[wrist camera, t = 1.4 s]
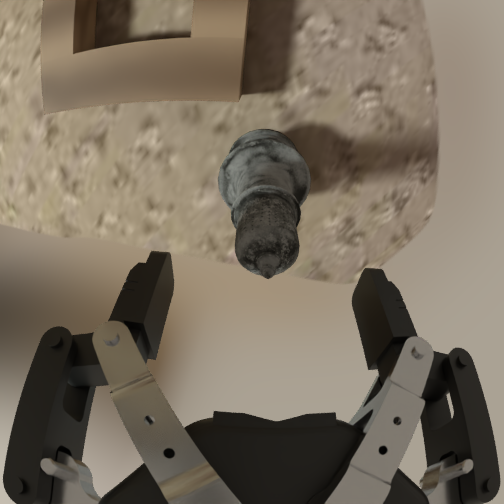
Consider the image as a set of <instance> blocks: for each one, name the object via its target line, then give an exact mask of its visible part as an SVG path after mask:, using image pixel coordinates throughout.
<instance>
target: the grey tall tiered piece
mask: <svg viewBox="0 0 504 504" xmlns="http://www.w3.org/2000/svg"><path fill="white" fill-rule="evenodd" d="M310 182H311V177H310V172H309V168H308V166H307V164H306V162H305V160H304V158H303V157H302V156H301V155H300V154H299V153H298V151H297V149H296V148H295V146H294V144H293V143H292V142H291V141H290V140H289V139H288V138H287V137H286V136H285V135H283V134H281V133H279V132H277V131H273V130H269V129H258V130H254V131H250V132H248V133H246V134H244V135H243V136H241V137H240V138H239V139H238V140H237V141H236V142H235V143H234V144H233V146H232V148H231V150H230V152H229V155H228V156H227V157H226V158H225V160H224V162H223V164H222V166H221V167H220V172H219V177H218V184H219V191H220V193H221V196H222V198H223V200H224V202H225V203H226V204H227V206H228V207H229V208H230V209H231V220H232V222H233V225H234V227H235V228H236V240H235V253H236V256H237V259H238V261H239V263H240V264H241V265H242V266H243V267H244V268H246V269H247V270H249V271H250V272H252V273H254V274H257V275H262V276H263V277H265V278H267V279H269V278H271V277H273V276H274V275H277V274H279V273H282V272H284V271H285V270H287V269H288V268H290V267H291V266H292V265H293V264H294V262H295V261H296V259H297V257H298V253H299V239H298V234H297V228H296V227H297V226H298V223H299V221H300V216H301V210H300V206H301V205H302V204H303V202H304V201H305V200H306V198H307V195H308V193H309V190H310Z"/></svg>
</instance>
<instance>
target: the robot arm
mask: <svg viewBox="0 0 504 504" xmlns="http://www.w3.org/2000/svg"><path fill="white" fill-rule="evenodd" d="M173 290H174V278H173V269H172V261H171V254H170V253H169V252H159V251H151V253H150V255H149V258H148V259H147V262H146V263H138V264H137V265H136V266H134V267H133V268H132V269H131V270H130V272H129V274H128V276H127V279H126V282H125V283H124V285H123V288H122V290H121V292H120V295H119V297H118V299H117V302H116V304H115V306H114V309H113V311H112V314H111V316H110V318H109V320H108V322H105V323H103V324H101V325H100V326H99V327H97V329H96V330H95V332H93V333H88V334H79V335H71V333H70V331H69V330H68V329H66V328H64V327H53V328H51V329H49V330H48V331H47V332H46V333H45V334H44V335H43V337H42V338H41V341H40V343H39V346H38V348H37V351H36V353H35V356H34V359H33V361H32V364H31V367H30V370H29V373H28V375H27V378H26V381H25V384H24V387H23V391H22V394H21V397H20V401H19V404H18V407H17V411H16V415H15V419H14V423H13V427H12V431H11V435H10V440H9V445H8V450H7V455H6V461H5V467H4V474H3V483H4V488H5V490H6V492H7V494H8V496H9V497H10V498H11V499H12V500H13V501H14V502H15V503H16V504H483V503H486V502H489V501H491V500H492V499H493V498H494V497H495V496H496V494H497V493H498V490H499V487H500V472H499V465H498V458H497V452H496V446H495V440H494V435H493V430H492V426H491V421H490V417H489V413H488V409H487V405H486V401H485V398H484V394H483V391H482V387H481V384H480V381H479V378H478V374H477V372H476V368H475V365H474V362H473V360H472V358H471V356H470V354H469V353H468V352H467V351H465V350H464V349H462V348H454V349H453V350H452V351H451V352H450V353H449V354H443V353H439V352H435V351H433V350H432V347H431V345H430V344H429V343H428V342H427V341H426V340H424V339H423V338H420V337H418V336H417V333H416V330H415V328H414V325H413V323H412V320H411V318H410V315H409V313H408V310H407V309H406V305H405V303H404V302H403V298H402V296H401V294H400V291H399V290H398V288H397V287H396V286H395V285H394V284H393V283H392V282H391V281H388V280H387V278H386V276H385V273H384V271H383V270H382V269H374V268H365V269H364V270H363V272H362V274H361V277H360V279H359V281H358V284H357V286H356V288H355V290H354V293H353V296H352V307H353V311H354V314H355V318H356V322H357V325H358V329H359V333H360V337H361V341H362V345H363V349H364V354H365V358H366V361H367V366H368V370H374V369H378V372H379V375H378V376H377V377H376V379H375V381H374V383H373V384H372V386H371V388H370V390H369V392H368V394H367V396H366V398H365V400H364V402H363V403H362V405H361V407H360V408H359V410H358V412H357V413H356V414H355V415H354V417H353V418H352V419H351V421H350V422H349V423H346V422H344V421H341V420H336V413H335V412H334V413H317V414H305V415H301V416H298V417H294V418H290V419H286V420H282V421H272V420H268V419H263V418H260V417H256V416H252V415H249V414H245V413H231V412H218V411H214V414H213V418H207V419H203V420H200V421H197V422H194V423H192V424H190V425H188V426H186V427H185V428H184V427H183V426H182V424H181V422H180V421H179V419H178V418H177V416H176V415H175V413H174V411H173V410H172V408H171V406H170V405H169V403H168V401H167V400H166V398H165V396H164V395H163V393H162V391H161V389H160V388H159V386H158V384H157V382H156V381H155V379H154V377H153V375H152V374H151V373H150V371H149V370H148V367H147V366H146V363H147V359H154V360H156V357H157V353H158V349H159V344H160V341H161V337H162V333H163V329H164V325H165V321H166V318H167V314H168V310H169V306H170V303H171V299H172V296H173ZM104 385H109V387H110V389H111V392H110V395H111V398H112V400H113V402H114V405H115V407H116V409H117V411H118V413H119V415H120V417H121V420H122V422H123V424H124V426H125V428H126V430H127V432H128V434H129V436H130V437H131V439H132V441H133V443H134V445H135V447H136V449H137V451H138V452H139V454H140V456H141V457H142V459H143V461H144V463H143V464H142V465H141V466H140V467H139V468H137V469H136V470H135V471H134V472H133V473H132V474H130V475H129V476H128V477H127V478H125V479H124V480H123V481H122V482H120V483H119V484H118V485H117V486H116V487H114V488H113V489H112V490H110V491H109V492H108V493H107V494H105V495H104V496H103V497H102V498H100V497H99V496H98V494H97V493H96V491H95V490H94V487H93V483H92V474H91V472H90V470H89V468H88V467H87V466H86V465H85V464H84V463H83V462H82V455H83V449H84V443H85V437H86V431H87V426H88V421H89V415H90V411H91V406H92V402H93V397H94V393H95V388H96V386H104ZM449 392H450V396H451V400H452V405H453V409H454V416H453V418H451V413H450V409H449V405H448V400H447V396H446V395H447V394H448V393H449ZM419 419H421V424H422V430H423V437H424V444H425V451H426V459H427V470H426V471H425V473H424V476H423V477H422V478H421V480H420V487H421V489H420V488H419V487H418V486H417V485H416V484H415V483H414V482H413V481H411V479H409V478H408V477H407V476H406V475H405V474H404V473H403V472H402V471H401V470H400V469H399V468H398V466H399V464H400V462H401V460H402V458H403V456H404V454H405V452H406V450H407V448H408V445H409V443H410V441H411V439H412V436H413V434H414V431H415V429H416V427H417V424H418V421H419Z"/></svg>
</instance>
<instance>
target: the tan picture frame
mask: <svg viewBox="0 0 504 504" xmlns="http://www.w3.org/2000/svg"><path fill="white" fill-rule="evenodd" d="M249 8H250V0H194V4H193V15H192V28H191V38H171V39H158V40H148V41H140V42H132V43H125V44H119V45H113V46H108V47H102V48H97V49H95V29H96V12H97V0H43V8H42V21H41V82H42V96H43V106H44V115H45V114H50V113H56V112H61V111H67V110H73V109H79V108H86V107H93V106H101V105H110V104H120V103H133V102H149V101H227V102H239V100H240V98H241V95H242V83H243V71H244V60H245V49H246V38H247V28H248V18H249Z"/></svg>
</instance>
